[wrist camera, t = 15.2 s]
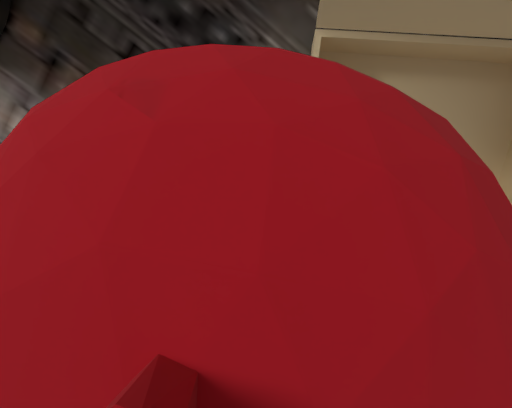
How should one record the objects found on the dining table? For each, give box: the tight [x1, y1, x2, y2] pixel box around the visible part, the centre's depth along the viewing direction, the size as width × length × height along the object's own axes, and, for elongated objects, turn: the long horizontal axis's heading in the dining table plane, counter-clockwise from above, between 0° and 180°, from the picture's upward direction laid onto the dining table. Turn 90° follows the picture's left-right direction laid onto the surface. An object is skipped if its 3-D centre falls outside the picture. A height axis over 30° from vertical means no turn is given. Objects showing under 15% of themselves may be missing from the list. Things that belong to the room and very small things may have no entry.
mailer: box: [311, 29, 512, 205], centre depth 28 cm, size 20×15×6 cm
